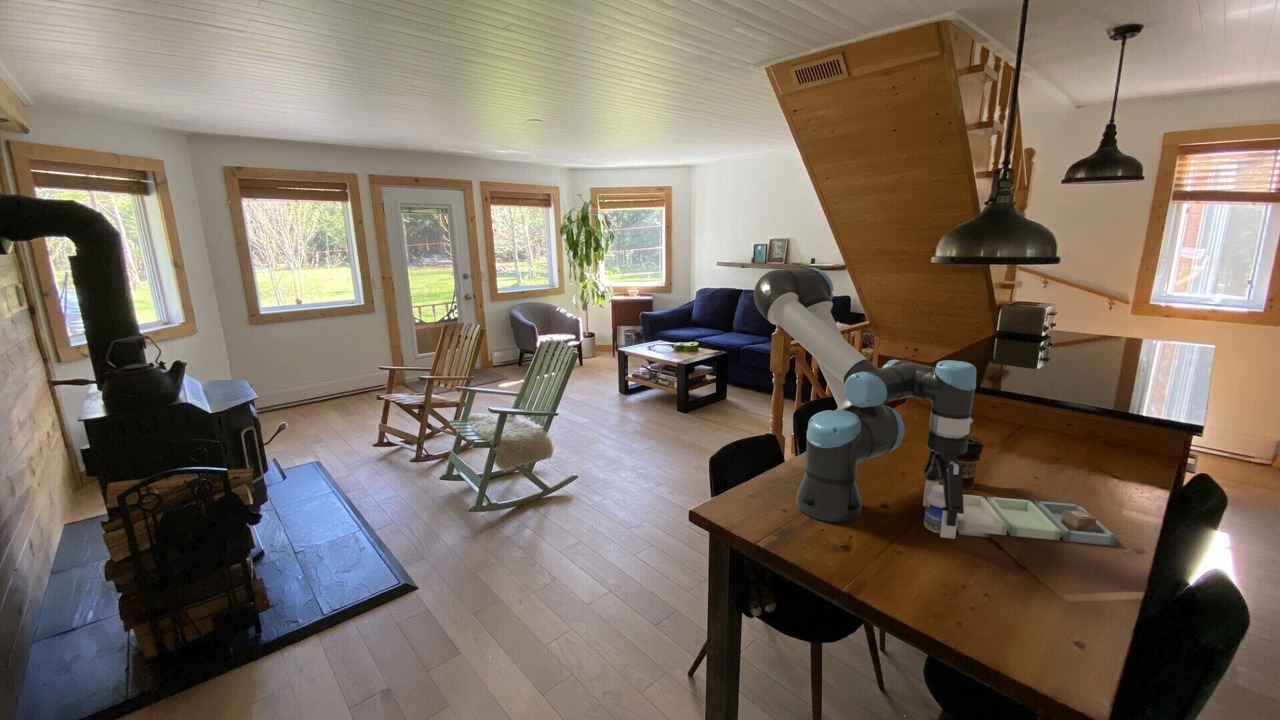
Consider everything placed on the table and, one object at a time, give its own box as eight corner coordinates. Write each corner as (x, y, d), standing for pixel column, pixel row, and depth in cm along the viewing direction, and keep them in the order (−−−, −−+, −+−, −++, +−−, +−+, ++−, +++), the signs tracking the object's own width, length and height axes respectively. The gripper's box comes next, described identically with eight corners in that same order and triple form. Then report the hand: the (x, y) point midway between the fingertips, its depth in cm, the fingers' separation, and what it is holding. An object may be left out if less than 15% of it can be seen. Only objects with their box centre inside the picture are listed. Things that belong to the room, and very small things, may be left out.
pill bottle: (918, 524, 122) (922, 485, 120) (936, 519, 124) (941, 481, 121) (937, 536, 117) (942, 496, 115) (956, 531, 119) (961, 492, 116)
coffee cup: (984, 494, 135) (991, 446, 132) (948, 491, 137) (954, 444, 134) (970, 478, 143) (977, 433, 140) (937, 476, 145) (942, 432, 142)
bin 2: (1064, 545, 113) (1066, 532, 112) (1033, 512, 126) (1035, 500, 125) (1113, 550, 111) (1116, 537, 110) (1077, 516, 124) (1079, 504, 123)
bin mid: (1010, 539, 115) (1012, 527, 114) (985, 508, 128) (987, 496, 128) (1058, 544, 113) (1060, 531, 112) (1028, 511, 126) (1030, 500, 126)
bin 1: (959, 534, 117) (961, 522, 117) (940, 503, 131) (941, 492, 130) (1005, 539, 115) (1007, 526, 115) (981, 507, 129) (982, 496, 128)
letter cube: (1075, 536, 114) (1078, 518, 113) (1060, 526, 118) (1063, 509, 117) (1093, 535, 114) (1096, 518, 113) (1077, 525, 118) (1081, 509, 117)
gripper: (990, 456, 102) (976, 554, 107) (949, 414, 126) (939, 496, 131) (947, 453, 104) (935, 549, 109) (915, 412, 128) (906, 493, 132)
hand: (937, 520), depth 120 cm, fingers open, 13 cm apart
